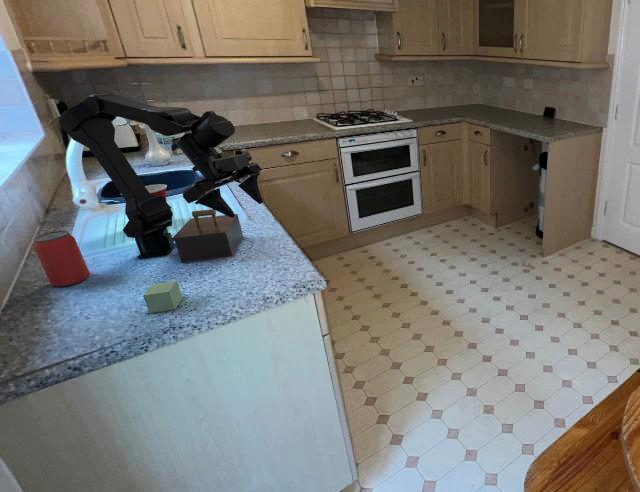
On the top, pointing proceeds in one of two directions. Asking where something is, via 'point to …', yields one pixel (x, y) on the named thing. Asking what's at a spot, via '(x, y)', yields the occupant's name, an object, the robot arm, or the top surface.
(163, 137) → the light bulb box
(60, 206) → the top surface
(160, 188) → the plastic cup
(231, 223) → the box lid
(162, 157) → the flower vase
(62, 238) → the beer can
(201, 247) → the storage box
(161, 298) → the block
